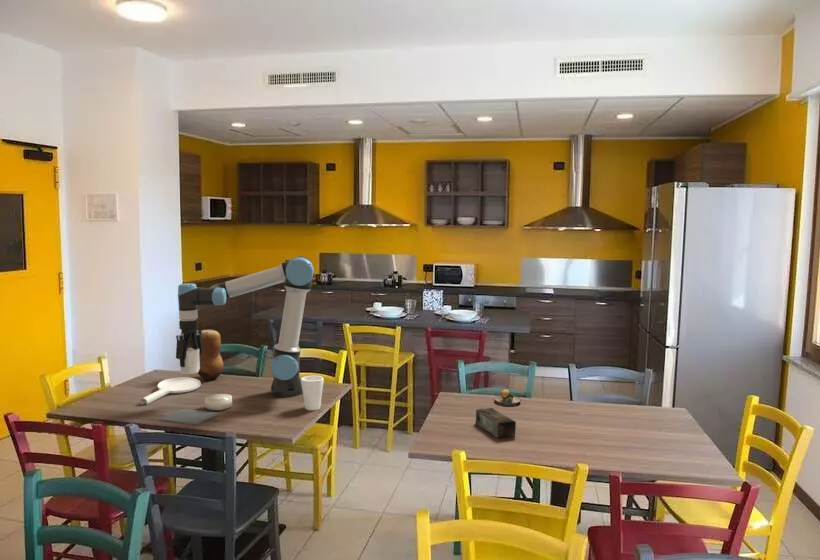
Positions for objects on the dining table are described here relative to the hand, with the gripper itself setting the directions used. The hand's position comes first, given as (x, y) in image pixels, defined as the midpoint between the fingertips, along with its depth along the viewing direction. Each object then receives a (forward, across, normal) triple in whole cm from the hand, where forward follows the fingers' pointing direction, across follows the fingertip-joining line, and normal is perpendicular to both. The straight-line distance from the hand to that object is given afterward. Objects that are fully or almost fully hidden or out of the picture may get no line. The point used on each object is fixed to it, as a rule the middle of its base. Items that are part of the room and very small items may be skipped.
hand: (190, 371), depth 257 cm
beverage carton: (+16, -10, +131) cm, 132 cm away
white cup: (+1, 0, 0) cm, 1 cm away
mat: (+15, +14, +10) cm, 23 cm away
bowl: (+15, 0, +14) cm, 20 cm away
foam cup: (+15, -12, +52) cm, 56 cm away
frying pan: (+15, -11, -21) cm, 29 cm away
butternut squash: (+15, -40, -20) cm, 47 cm away
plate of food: (+16, -47, +130) cm, 139 cm away
